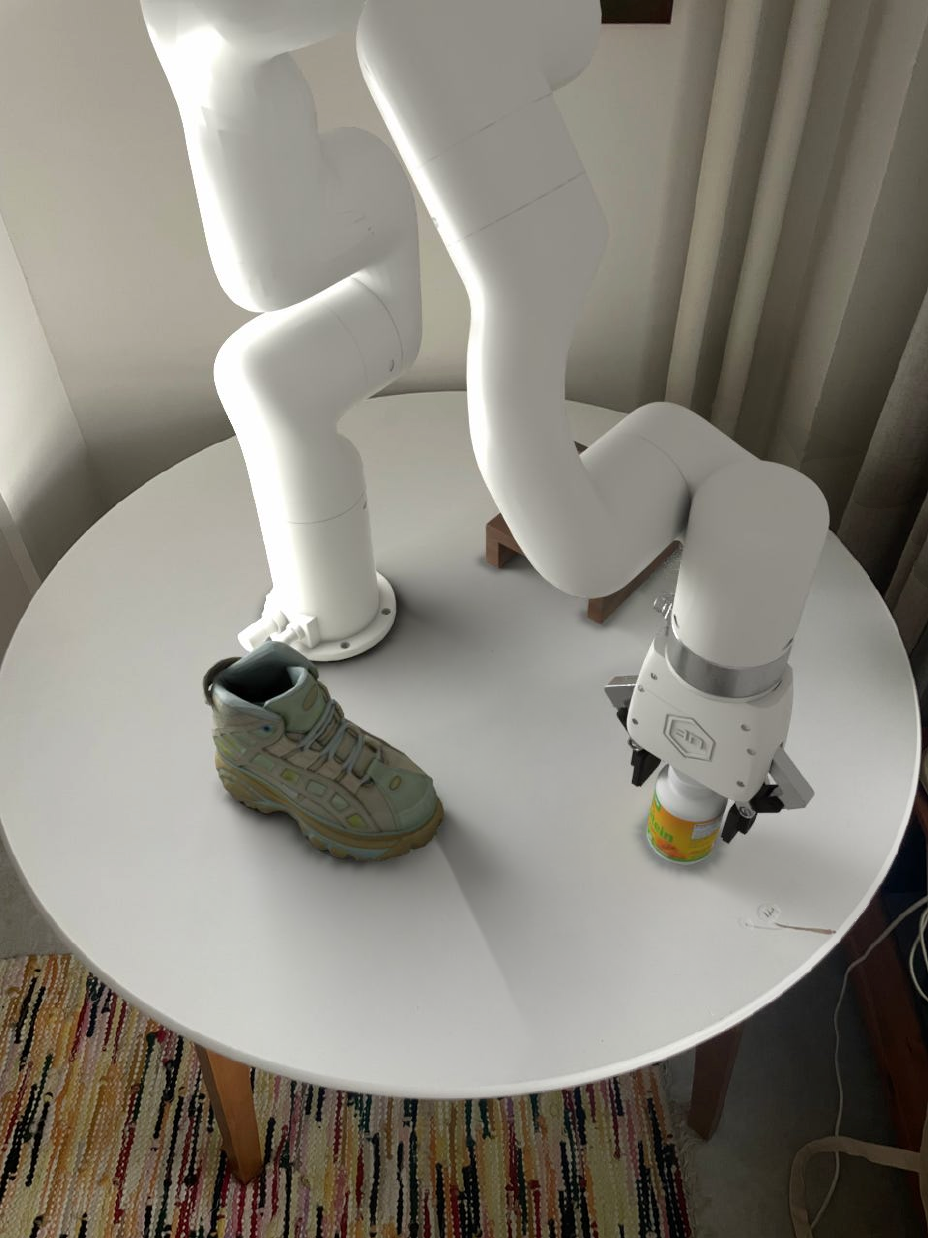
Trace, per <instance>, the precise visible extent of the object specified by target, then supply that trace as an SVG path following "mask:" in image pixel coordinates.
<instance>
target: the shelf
mask: <svg viewBox="0 0 928 1238" xmlns="http://www.w3.org/2000/svg"><path fill="white" fill-rule="evenodd" d="M574 443H575V446H576V448H577V451H578V454H579V455H580V454H581V453H582V452H584V451H585V450H586V449H587V448H588V447H589V446H587V445H584V444H582V443H580V442H578V441H576V440H574ZM680 544H681V542H680V541H678V540H674V541H673V542H672V543H671V544H670V545H669V546H668V547H667V548H666V549H664V550H663V551H662V552H661V553H660V554H659V555H658V556H657V557H656V558H655V559H654V560H653V561H652V562H651V563H650V564H649V565H648V566H647V567H646V568H645V569H644V570H643V571H642V572H640V573H639V574H638V575H637V576H636V577H635V578H634V579H633V580H632V581H631V582H629V583H628V584H627V585H626V586H625V587H623V588H622V589H620V590H618V591H616V592H614V593H612V594H610V595H608V596H605V597H599V598H594V599H589V598H588V604H587V613H586V614H587V615H586V617H587V618H588V619H589V620H592V621H593V622H595V623H597V624H599V625H602V624H603V623H604V622H605V621H606V620H607V619H608V618H609V617H610V616H611V615H612V614H614V612H615V611H616V610H617V609H618V608H619V607H620V606H621V605H622V604H623V603H624V602H625V601H626V600H627V599H628V598H629V597H630V596H631V595H633V593H634V592H635V591H636V590H637V589H638V588H639V587H640V586H641V585H642V584H644V582H645V581H646V580H648V578H649V577H650V576H651V575H652V574H653V573H654V572H655V571H657V569H659V568H660V567H661V565H662V564H663V563H665V561H667V559H669V558H670V557H671V555H673V554H674V552H676V550H677V549H679V547H680ZM516 553H518V554H519V555H521V556H524V557H525V558H527V557H526V555H525V554H524V553H523V551H522V549H521V548H520V546H519V545H518V543H517V542H516V540H515V538H514V536H513V534H512V532H511V531H510V529H509V527H508V525H507V523H506V522H505V520H504V518H503V516H502V514H501V512H500V511H499V513H497V514H496V515H495V516H494V517H493V518H491V519H490V520H489V521H488V522H487V523H486V524H485V562H486V563H488V564H490V565H492V566H494V567H495V568H497V569H499V568H500V567H502V565H504V564H505V563H506V562H507V561H509V560H510V559H511V558H512V557H513V556H514V555H516Z"/></svg>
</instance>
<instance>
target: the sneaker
mask: <svg viewBox="0 0 928 1238" xmlns="http://www.w3.org/2000/svg"><path fill="white" fill-rule="evenodd" d="M319 678H320V673H319V669H318V667H317V666H316V665H315V664H314V663H313V662H312V661H311V660H308V659H307V658H306V657H305V656H304V655H302V654H301V653H300V652H298V651H297V650H295V649H294V648H292V647H291V646H289V645H288V644H286V643H283V642H280V641H276V640H272V639H271V640H268V641H267V640H266V641H264V642H263V643H262V644H260V645H259V646H258V647H257V648H255V649H254V650H253V651H251V652H250V651H249V653H247V654H246V655H244V656H231V657H227V658H222V659H220V660H218V661H216V662H214V663H213V664H212V665H211V666H210V668H209V669H207V671H206V673H205V674H204V675H203V677H202V681H201V685H202V698H203V701H204V704H205V705H207V706H209V707H211V711H212V714H211V716H212V717H211V718H212V728H211V733H212V734H211V735H212V739H213V743H214V745H215V756H214V757H215V758H214V764H215V769H216V771H217V772H218V777H219V779H220V781H221V783H222V786H223V788H224V789H225V791H227V792H229V793H230V795H231V797H232V798H233V799H234V800H235V801H236V802H243V803H244V805H245V806H246V807H248V808H251V809H254V810H256V809H257V810H258V811H259V812H260V813H262V814H263V813H264V814H270V813H273V812H280V811H281V812H284V813H286V814H288V815H289V816H290V817H291V818H293V820H295V822H297V824H298V827H299V829H300V831H301V834H302V836H303V837H304V838H307V839H309V842H310V844H311V846H312V847H313V848H315V849H317V850H319V851H320V852H322V851H328V852H329V854H331V856H333V857H336V858H339V859H348V858H349V857H350V856H351V857H353V858H354V859H355V860H356V862H367V861H370V860H374V859H375V860H378V861H385V860H390V859H394V858H398V857H399V858H400V857H402V856H405V855H408V854H409V853H410V852H411V850H417V849H421V848H424V847H425V846H427V845H429V843H430V842H432V841H433V839H435V837H436V835H437V832H438V829H439V828H440V827H441V826H442V824H443V823H444V822H443V821H444V819H445V818H444V817H445V808H444V805H443V802H442V800H441V798H440V797H439V796H438V794H437V791H436V789H435V786H434V779H433V778H432V777H431V775H428V774H427V773H426V772H425V771H424V770H423V769H422V768H421V767H420V766H419V765H418V764H416V762H414V761H413V760H412V759H411V758H410V757H409V756H408V755H407V754H406V753H405V752H403V750H402V751H401V750H400V749H398V748H396V747H394V746H392V745H391V744H390V743H388V742H387V741H385V740H384V739H382V738H381V737H378V736H376V735H374V734H372V733H370V732H368V731H367V730H365V729H363V728H362V727H361V726H359V725H357V724H356V723H354V722H352V720H349V719H348V718H346V717H345V712H344V710H343V707H342V706H341V705H340V703H339V702H338V701H337V700H336V699H335V698H332V696H331V694H330V691H329V689H328V687H327V685H325V683H323V681H321V680H319ZM209 688H210V689H209Z"/></svg>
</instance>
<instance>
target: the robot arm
mask: <svg viewBox="0 0 928 1238" xmlns="http://www.w3.org/2000/svg"><path fill="white" fill-rule="evenodd" d="M139 5H140V8H141V12H142V16H143V20H144V24H145V27H146V30H147V34H148V36H149V39H150V42H151V44H152V46H153V49H154V51H155V53H156V56H157V59H158V60H159V62H160V65H161V67H162V69H163V71H164V73H165V76H166V78H167V80H168V83H169V85H170V88H171V91H172V93H173V96H174V98H175V101H176V103H177V106H178V110H179V114H180V117H181V121H182V125H183V130H184V136H185V143H186V148H187V152H188V158H189V163H190V168H191V173H192V177H193V181H194V186H195V191H196V196H197V201H198V205H199V210H200V215H201V220H202V224H203V230H204V234H205V235H204V236H205V239H206V244H207V248H208V252H209V256H210V259H211V263H212V266H213V269H214V272H215V275H216V277H217V279H218V282H219V284H220V286H221V287H222V289H223V291H224V292H225V293H226V295H227V296H228V297H229V299H230V300H231V301H232V302H233V303H235V304H236V305H238V306H240V307H241V308H243V309H244V310H247V311H249V312H253V313H262V314H260V315H258V316H256V317H255V318H253V319H252V320H250V321H248V322H247V323H245V324H244V325H243V326H241V327H240V328H239V329H238V330H236V331H234V333H233V334H232V335H230V337H229V338H227V340H226V341H225V342H224V343H223V345H222V346H221V348H220V349H219V351H218V353H217V355H216V358H215V362H214V366H213V377H214V383H215V387H216V391H217V394H218V396H219V399H220V402H221V404H222V406H223V408H224V411H225V412H226V415H227V416H228V419H229V420H230V423H231V425H232V427H233V430H234V432H235V434H236V436H237V440H238V442H239V444H240V447H241V450H242V453H243V457H244V460H245V463H246V468H247V471H248V476H249V479H250V484H251V489H252V494H253V498H254V501H255V505H256V509H257V514H258V519H259V523H260V528H261V529H260V530H261V532H262V537H263V542H264V546H265V551H266V556H267V561H268V565H269V570H270V574H271V579H272V583H273V588H272V589H271V591H270V593H268V594H267V595H265V598H266V601H265V603H264V607H263V608H264V609H263V612H262V613H261V618H260V619H259V620H257V621H256V622H255V623H252V624H251V625H249V626H247V628H245V629H244V630H242V631H241V632H240V633H238V635H237V638H238V641H239V643H240V645H241V646H242V647H243V648H244V649H245V650H246V651H248V652H249V653H250V652H251V651H253V650H254V649H256V648H257V647H259V646H260V645H261V644H263V643H265V642H267V639H268V638H271V640H276V641H280V642H283V643H286V644H288V645H289V646H291V647H292V648H294V649H295V650H297V651H298V652H300V653H301V654H302V655H304V656H305V657H306V658H307V659H308V660H309V661H315V662H329V661H330V662H331V661H340V660H344V659H349V658H352V657H355V656H357V655H360V654H363V653H364V652H366V651H368V650H369V649H372V648H373V647H374V646H376V645H377V644H378V643H380V642H381V641H382V640H383V639H384V638H385V636H386V635H387V634H388V633H389V632H390V630H391V628H392V626H393V624H394V622H395V619H396V616H397V600H396V594H395V591H394V589H393V587H392V585H391V583H390V582H389V581H388V580H387V578H386V577H385V576H383V575H382V574H381V573H379V572H378V571H377V567H376V559H375V551H374V550H375V549H374V541H373V533H372V525H371V516H370V515H371V514H370V507H369V499H368V490H367V489H368V488H367V481H366V480H367V479H366V475H365V467H364V461H363V459H362V456H361V454H360V451H359V450H358V447H357V446H356V445H355V444H354V443H353V442H352V440H350V438H348V437H347V436H346V435H345V434H344V433H342V432H340V431H338V430H337V428H338V427H337V426H338V424H339V422H340V420H342V418H344V417H345V416H346V415H347V414H348V413H350V412H351V411H352V410H354V409H355V408H357V407H358V406H359V405H361V404H362V403H363V402H365V401H366V400H367V399H369V398H371V397H372V396H374V395H376V394H377V393H378V392H380V391H382V390H383V389H384V388H386V387H387V386H389V385H391V384H392V383H393V382H394V381H396V380H397V379H399V378H400V377H402V376H403V375H404V374H405V373H406V372H407V371H408V370H410V368H411V367H412V366H413V364H414V363H415V362H416V361H417V358H418V356H419V354H420V350H421V345H422V340H423V303H422V284H421V283H422V281H421V261H420V260H421V259H420V240H419V239H420V238H419V224H418V213H417V206H416V201H415V197H414V196H415V195H414V193H413V190H412V186H411V183H410V181H409V179H408V176H407V174H406V172H405V169H404V167H403V165H402V164H401V162H400V160H399V159H398V157H397V155H396V154H395V153H394V152H393V150H392V148H390V147H389V146H388V144H386V142H385V141H384V140H382V139H381V138H380V137H379V136H377V135H376V134H374V133H372V132H370V131H369V130H366V129H364V128H360V127H356V126H340V127H335V128H331V129H327V130H325V131H322V132H319V123H318V114H317V113H318V112H317V106H316V102H315V98H314V95H313V92H312V89H311V87H310V84H309V82H308V80H307V78H306V76H305V74H304V73H303V71H302V69H301V68H300V67H299V65H298V63H297V61H296V60H295V59H294V58H293V56H292V55H291V53H290V52H292V51H295V50H300V49H302V48H303V49H304V48H306V47H308V46H311V45H314V44H317V43H319V42H322V41H325V40H328V39H330V38H334V37H337V36H340V35H343V34H346V33H349V32H351V31H354V30H356V37H355V50H356V55H357V59H358V63H359V64H358V65H359V68H360V71H361V74H362V77H363V80H364V81H365V84H366V87H367V89H368V91H369V92H370V96H371V97H372V99H373V102H374V103H375V106H376V107H377V110H378V112H379V114H380V116H381V118H382V120H383V123H384V124H385V125H386V128H387V130H388V132H389V134H390V136H391V139H392V140H393V142H394V144H395V146H396V149H397V150H398V153H399V155H400V157H401V159H402V161H403V163H404V164H405V167H406V169H407V171H408V173H409V175H410V177H411V180H412V181H413V183H414V185H415V187H416V190H417V191H418V193H419V195H420V198H421V200H422V201H423V204H424V205H425V207H426V210H427V213H428V214H429V216H430V218H431V220H432V222H433V225H434V226H435V228H436V230H437V232H438V234H439V236H440V238H441V240H442V243H443V244H444V246H445V249H446V251H447V253H448V255H449V257H450V259H451V261H452V263H453V265H454V267H455V269H456V271H457V273H458V275H459V277H460V278H461V281H462V283H463V285H464V288H465V290H466V293H467V295H468V300H469V305H470V325H469V333H468V341H467V352H466V397H467V398H466V399H467V413H468V423H469V433H470V439H471V444H472V449H473V453H474V456H475V460H476V463H477V466H478V469H479V472H480V474H481V476H482V478H483V481H484V483H485V485H486V487H487V489H488V491H489V493H490V495H491V497H492V498H493V501H494V503H495V504H496V506H497V508H498V510H499V513H500V512H501V514H502V516H503V518H504V520H505V522H506V523H507V525H508V527H509V529H510V531H511V532H512V534H513V536H514V538H515V540H516V542H517V543H518V545H519V546H520V548H521V549H522V551H523V553H524V554H525V555H526V557H525V558H527V560H528V562H529V563H530V564H531V565H532V566H533V568H534V569H535V570H536V571H537V572H538V574H540V575H541V577H542V578H544V579H545V580H546V581H547V582H548V583H549V584H551V585H552V586H553V587H554V588H556V589H558V590H559V591H560V592H562V593H565V594H567V595H569V596H573V597H576V598H580V599H588V600H589V599H594V598H599V597H605V596H608V595H610V594H612V593H614V592H616V591H618V590H620V589H622V588H623V587H625V586H626V585H627V584H628V583H629V582H631V581H632V580H633V579H634V578H635V577H636V576H637V575H638V574H639V573H640V572H642V571H643V570H644V569H645V568H646V567H647V566H648V565H649V564H650V563H651V562H652V561H653V560H654V559H655V558H656V557H657V556H658V555H659V554H660V553H661V552H662V551H663V550H664V549H666V548H667V547H668V546H669V545H670V544H671V543H672V542H673V541H674V540H678V541H680V544H682V553H681V559H680V563H679V564H680V565H679V569H678V576H677V582H676V587H675V593H674V594H672V595H671V594H669V593H667V592H665V591H662V592H660V593H659V594H658V595H657V597H656V599H655V600H654V604H653V607H652V608H653V610H654V611H655V612H656V613H657V612H658V613H659V614H661V616H662V618H664V620H665V622H666V625H665V627H663V628H662V629H660V630H659V632H658V633H657V634H656V635H655V637H654V638H653V641H652V643H651V645H650V646H649V649H648V650H647V653H646V655H645V658H644V660H643V662H642V665H641V668H640V671H639V674H636V675H635V674H634V675H619V676H618V675H617V676H613V678H612V679H611V680H610V681H609V682H608V683H606V685H605V686H604V688H603V690H604V693H605V695H606V696H607V697H608V700H609V701H610V703H611V704H612V706H613V708H616V710H617V711H616V712H615V714H616V717H617V719H618V720H619V723H621V725H622V727H623V728H624V729H625V731H626V732H627V734H628V735H629V737H628V739H627V741H626V742H627V745H628V746H629V748H631V750H632V752H631V753H632V754H631V760H630V765H631V766H632V767H633V771H632V775H631V782H630V784H631V785H633V786H635V787H636V788H638V787H642V786H643V785H645V783H646V781H648V779H649V778H650V777H651V776H652V774H653V773H654V772H655V771H656V770H657V768H658V767H660V764H661V763H662V761H663V762H664V763H666V764H669V765H671V766H673V767H674V768H676V769H678V770H679V771H681V772H683V773H684V774H686V775H688V776H689V777H691V778H693V779H694V780H696V781H698V782H699V783H701V784H703V785H704V786H706V787H708V788H709V789H711V790H713V791H715V792H717V793H718V794H720V795H722V796H724V797H726V798H728V800H731V801H734V802H733V804H732V805H731V806H730V808H729V809H728V811H727V814H726V818H725V821H724V824H723V828H722V831H721V834H720V838H721V841H722V842H724V843H726V844H727V845H729V844H731V843H732V841H733V839H734V838H735V837H736V836H737V834H738V833H741V834H742V835H744V836H746V835H747V834H748V832H749V831H750V830H751V829H752V827H753V826H754V824H755V822H756V820H757V817H758V814H780V813H781V812H782V811H783V810H787V811H790V810H798V809H799V810H801V809H805V808H807V806H808V804H809V803H810V802H811V800H812V799H813V797H814V796H815V791H814V789H813V788H812V786H811V785H810V783H809V782H808V781H807V779H806V778H805V777H804V775H803V774H802V773H801V771H800V770H799V769H798V767H797V766H796V764H795V763H794V762H793V760H792V759H791V757H790V756H789V755H788V754H787V753H786V751H785V746H786V743H787V739H788V734H789V730H790V726H791V725H790V724H791V720H792V713H793V704H794V670H793V667H792V666H791V665H790V664H789V663H788V661H789V658H790V655H791V652H792V649H793V646H794V642H795V637H796V634H797V632H798V628H799V625H800V623H801V620H802V615H803V613H804V609H805V606H806V603H807V600H808V597H809V594H810V592H811V591H810V590H811V587H812V586H813V585H812V584H813V581H814V578H815V574H816V572H817V570H818V569H817V568H818V565H819V562H820V559H821V555H822V553H823V549H824V546H825V542H826V539H827V536H828V531H829V527H830V509H829V505H828V502H827V501H828V500H827V499H826V497H825V495H824V493H823V492H822V490H821V489H820V488H819V486H818V485H817V484H816V483H815V482H814V480H812V479H811V478H809V476H807V475H805V474H804V473H802V472H800V471H798V470H796V469H795V468H792V467H790V466H787V465H785V464H782V463H778V462H775V461H768V460H761V459H760V458H759V457H757V456H755V455H754V454H753V453H751V452H750V451H748V450H747V449H745V448H744V447H742V446H741V445H740V444H738V443H737V442H736V441H735V440H733V439H732V438H730V437H729V436H727V434H725V433H724V432H722V431H721V430H720V429H719V428H717V427H716V426H714V424H712V423H710V422H709V421H708V420H707V419H705V418H704V417H702V416H701V415H699V414H697V413H696V412H694V411H693V410H691V409H689V408H687V407H685V406H683V405H680V404H677V403H673V402H669V401H654V402H650V403H646V404H645V405H642V406H640V407H638V408H636V409H634V410H633V411H631V412H630V413H629V414H627V415H626V416H625V417H624V418H623V419H621V420H620V421H618V423H616V424H615V425H614V426H613V427H612V428H611V429H609V430H608V431H607V432H605V433H604V434H603V435H602V436H601V437H599V438H598V439H597V440H596V441H594V442H593V443H592V444H591V445H590V446H587V447H588V448H587V449H586V450H585V451H584V452H582V453H581V454H580V455H579V454H578V451H577V448H576V446H575V443H574V441H575V440H574V438H573V435H572V431H571V427H570V422H569V418H568V412H567V405H566V404H567V403H566V369H567V362H568V355H569V352H570V346H571V343H572V338H573V335H574V332H575V328H576V325H577V322H578V320H579V317H580V315H581V312H582V310H583V307H584V305H585V302H586V300H587V297H588V295H589V292H590V290H591V287H592V285H593V283H594V280H595V278H596V275H597V272H598V271H599V268H600V265H601V263H602V261H603V258H604V255H605V251H606V249H607V246H608V241H609V224H608V220H607V217H606V214H605V212H604V210H603V208H602V206H601V204H600V201H599V199H598V196H597V195H596V192H595V189H594V187H593V185H592V183H591V180H590V178H589V175H588V174H587V171H586V169H585V167H584V164H583V162H582V160H581V157H580V154H579V153H578V150H577V148H576V145H575V143H574V141H573V139H572V136H571V134H570V132H569V130H568V127H567V124H566V122H565V120H564V118H563V115H562V113H561V111H560V108H559V106H558V104H557V101H556V99H555V97H554V95H553V92H556V91H558V90H560V89H562V88H565V87H566V86H567V85H569V84H570V83H572V82H573V81H575V80H576V79H577V78H579V77H580V76H581V75H582V74H583V73H584V71H585V70H586V69H587V68H588V66H590V63H591V62H592V59H593V57H594V56H595V54H596V51H597V49H598V47H599V42H600V37H601V34H602V33H601V32H602V15H603V13H602V7H601V0H139ZM768 774H769V775H770V777H771V778H772V780H773V781H774V782H775V784H774V783H771V782H770V779H769V776H768Z"/></svg>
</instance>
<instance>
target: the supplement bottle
mask: <svg viewBox="0 0 928 1238" xmlns="http://www.w3.org/2000/svg"><path fill="white" fill-rule="evenodd" d="M651 800H652V801H651V805H650V811H649V816H648V819H647V824H646V838H647V840H648V843H649V845H650V847H651V849H652V850H653V851H654V852H655V853H656V854H657V855H658V856H660V857H661V858H662V859H664V860H666V861H667V862H669V863H672V864H676V865H681V866H688V865H693V864H697V863H700V862H702V861H704V860H705V859H706V858H707V857H709V856H710V855H711V853H712V852H713V849H714V848H715V845H716V843H717V840H718V836H719V834H720V833H719V832H720V830H721V826H722V823H723V819H724V816H725V812H726V809H727V805H728V802H729V799H728V798H726V797H724V796H722V795H720V794H718V793H717V792H715V791H713V790H711V789H709V788H708V787H706V786H704V785H703V784H701V783H699V782H698V781H696V780H694V779H693V778H691V777H689V776H688V775H686V774H684V773H683V772H681V771H679V770H678V769H676V768H674V767H673V766H671V765H669V764H668V763H666V764H664V766H663V767H662V768H661V770H660V771H659V772H658V774H657V779H656V780H655V785H654V790H653V796H652V799H651Z"/></svg>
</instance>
